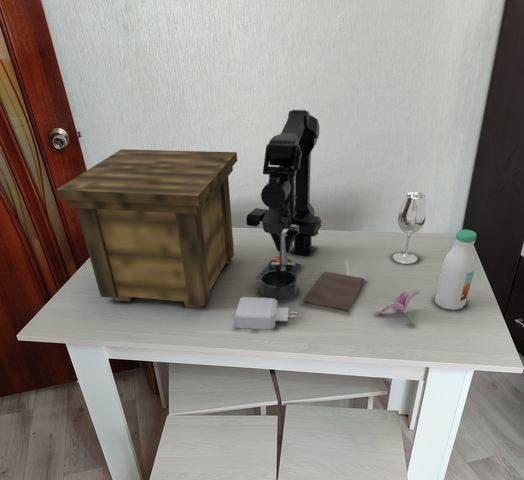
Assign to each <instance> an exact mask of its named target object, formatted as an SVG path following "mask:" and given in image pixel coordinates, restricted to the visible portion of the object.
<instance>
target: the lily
mask: <svg viewBox="0 0 524 480" xmlns="http://www.w3.org/2000/svg"><path fill="white" fill-rule="evenodd" d="M421 290H422V288H420V289H417V290H416V291H414V292H412V293H411V294H409V292H408V291H403V292H401V293H399V294H398V295H397V296H396V297H395V298H394V300H393V303H391V304H389V305H386V306H385V307H383V308H382V310H381V311H379V312H378V313H377V315H380V314H382V313H383V312H385V311H388V310H389V309H393V310H399V311H404V312H405V314H406V316H407V320H408V322H409V325H410V326H412V322H411V319H410V316H409V313H408V310H407V309H408V306H409V304H410V302H411V300H412V298H413V297H415V296H417V295H419V294H421V292H420V291H421Z"/></svg>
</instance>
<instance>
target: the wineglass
mask: <svg viewBox="0 0 524 480" xmlns="http://www.w3.org/2000/svg"><path fill="white" fill-rule="evenodd" d="M426 217H427V202H426V194H425V193H422V192H418V191H411V192H406V193H405V196H404V198H403V199H402V203H401V206H400V208H399V212H398V217H397V225H398V227H399V228H400V230H401V231H402V232H404V233H406V241H405V242H406V243H405V250H404V251H402V252H395V253H394V254H393V255H392V260H393V261H395V262H396V263H399V264H404V265H409V264H414V263H417V261H418V257H417V256H416V254H413V253H410V252H408V249H409V243H410V238H411V235H412V234H415V233H417V232H418V231H420V230H421V229H422V228H423V227H424V225H425V222H426Z"/></svg>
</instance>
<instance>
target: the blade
mask: <svg viewBox="0 0 524 480" xmlns="http://www.w3.org/2000/svg"><path fill="white" fill-rule="evenodd" d="M286 244H287V235H286V232H282V233H280V234H279V254H278V256H279V260H280V262H272V263H271V265H275V270H276V271H278V272H289V271H291V270H292V265H296V263H297V262H295V261H294V262H293V261H292V262H288V259H289V256H288V254H289V253H287V252H286Z"/></svg>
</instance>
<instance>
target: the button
mask: <svg viewBox="0 0 524 480" xmlns="http://www.w3.org/2000/svg"><path fill="white" fill-rule="evenodd" d="M274 262H280V260H279V255H278V256H275V257H274Z"/></svg>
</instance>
